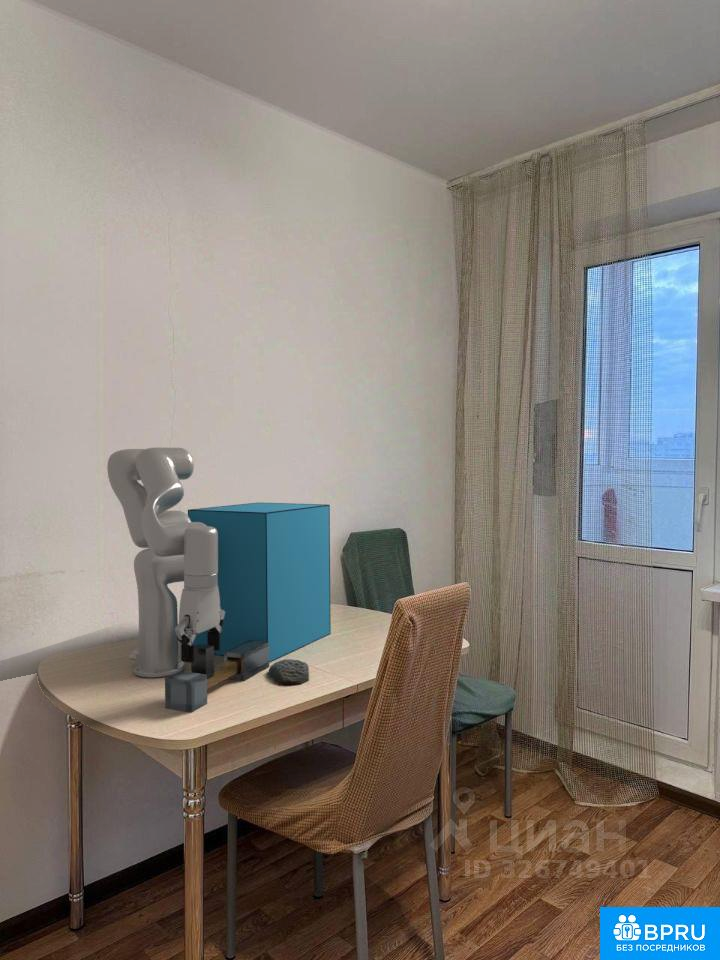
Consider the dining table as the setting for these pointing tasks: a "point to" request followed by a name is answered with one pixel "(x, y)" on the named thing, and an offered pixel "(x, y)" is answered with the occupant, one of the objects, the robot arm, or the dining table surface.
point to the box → (271, 574)
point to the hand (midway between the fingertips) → (201, 655)
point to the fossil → (289, 672)
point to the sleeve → (249, 658)
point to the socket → (186, 691)
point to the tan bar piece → (206, 665)
